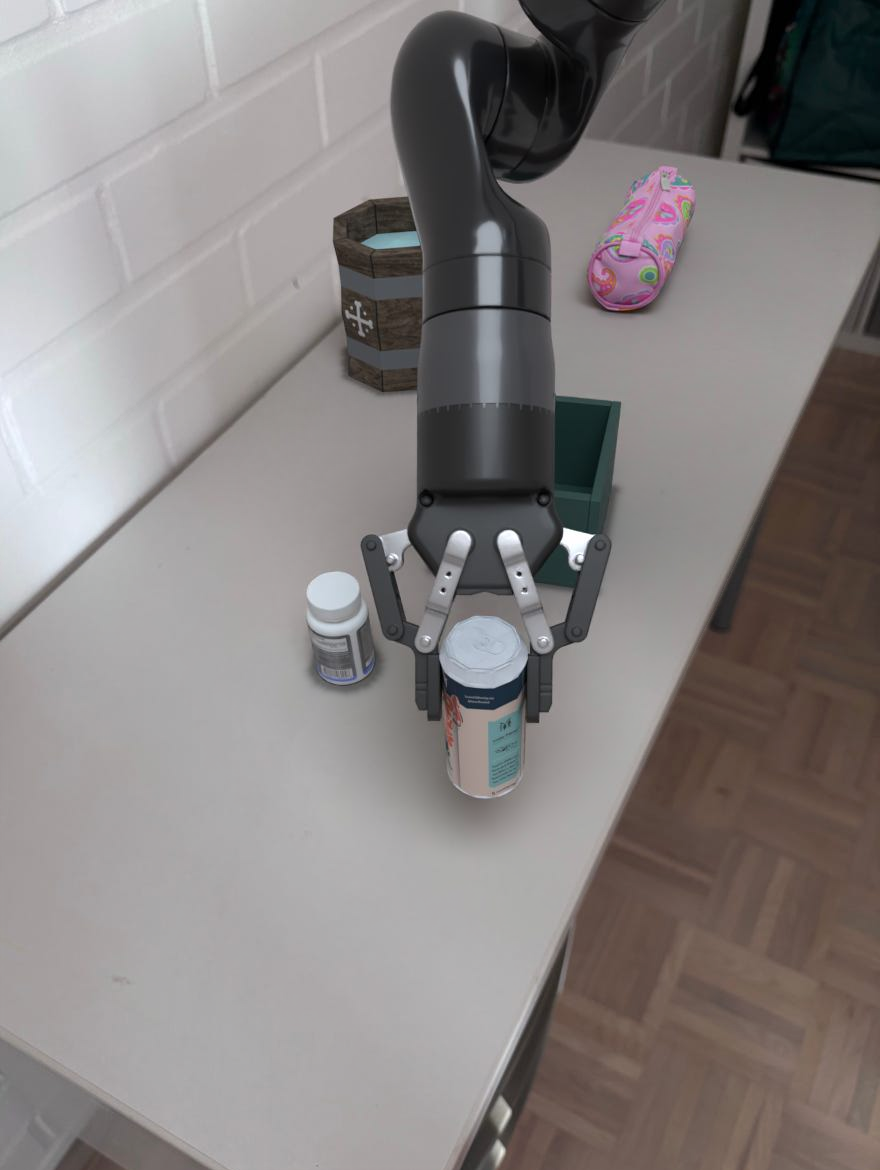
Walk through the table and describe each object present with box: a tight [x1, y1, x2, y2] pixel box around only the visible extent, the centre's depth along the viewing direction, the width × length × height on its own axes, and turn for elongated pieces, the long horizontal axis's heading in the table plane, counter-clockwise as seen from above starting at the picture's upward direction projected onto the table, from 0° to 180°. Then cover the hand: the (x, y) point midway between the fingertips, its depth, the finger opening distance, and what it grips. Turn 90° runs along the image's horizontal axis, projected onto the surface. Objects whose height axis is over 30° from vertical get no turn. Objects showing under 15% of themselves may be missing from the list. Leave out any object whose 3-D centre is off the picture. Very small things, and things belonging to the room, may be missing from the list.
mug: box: [332, 195, 422, 393], centre depth 102 cm, size 20×14×15 cm
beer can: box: [439, 615, 529, 799], centre depth 57 cm, size 5×5×12 cm
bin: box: [533, 395, 622, 588], centre depth 84 cm, size 14×14×10 cm
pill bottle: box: [305, 570, 376, 686], centre depth 75 cm, size 5×5×8 cm
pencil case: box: [586, 165, 697, 312], centre depth 114 cm, size 21×9×9 cm, turn 157°
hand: (483, 719), depth 54 cm, fingers closed on beer can, 4 cm apart
